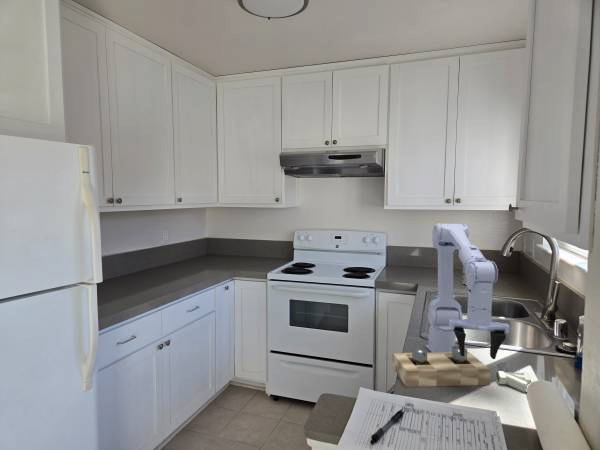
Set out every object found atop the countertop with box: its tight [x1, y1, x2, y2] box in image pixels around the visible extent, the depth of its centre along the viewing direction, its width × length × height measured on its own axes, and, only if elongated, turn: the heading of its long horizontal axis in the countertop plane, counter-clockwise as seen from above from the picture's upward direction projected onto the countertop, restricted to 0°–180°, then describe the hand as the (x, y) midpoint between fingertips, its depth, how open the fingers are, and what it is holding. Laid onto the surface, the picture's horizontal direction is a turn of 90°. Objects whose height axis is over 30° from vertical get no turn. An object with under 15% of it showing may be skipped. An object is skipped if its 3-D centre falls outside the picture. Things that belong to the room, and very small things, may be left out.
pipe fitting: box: [495, 370, 532, 394], centre depth 102 cm, size 8×4×7 cm
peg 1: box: [411, 346, 428, 365], centre depth 108 cm, size 4×4×4 cm
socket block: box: [391, 351, 492, 388], centre depth 109 cm, size 12×24×4 cm, turn 94°
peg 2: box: [451, 345, 468, 364], centre depth 109 cm, size 4×4×4 cm
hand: (477, 356), depth 99 cm, fingers open, 7 cm apart
